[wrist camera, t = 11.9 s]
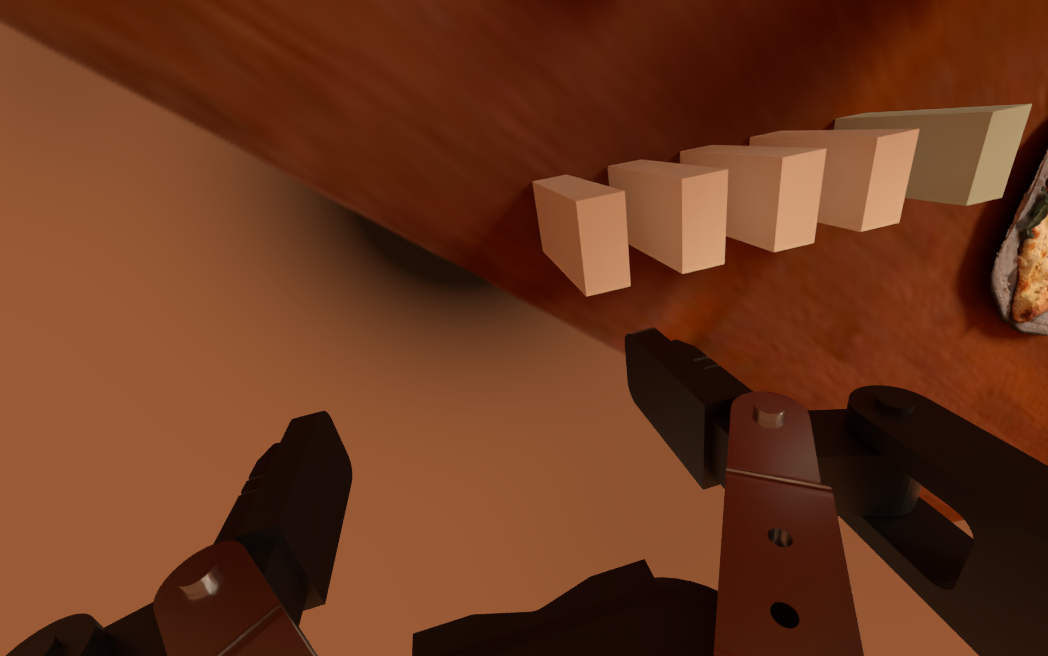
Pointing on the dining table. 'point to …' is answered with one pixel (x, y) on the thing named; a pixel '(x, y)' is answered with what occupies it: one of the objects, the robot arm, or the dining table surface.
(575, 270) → the tile
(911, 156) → the tile
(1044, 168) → the food plate
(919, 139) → the sage tile
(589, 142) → the dining table surface
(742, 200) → the tile
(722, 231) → the tile
